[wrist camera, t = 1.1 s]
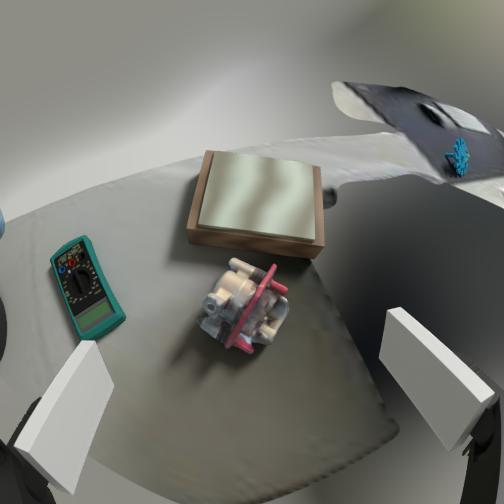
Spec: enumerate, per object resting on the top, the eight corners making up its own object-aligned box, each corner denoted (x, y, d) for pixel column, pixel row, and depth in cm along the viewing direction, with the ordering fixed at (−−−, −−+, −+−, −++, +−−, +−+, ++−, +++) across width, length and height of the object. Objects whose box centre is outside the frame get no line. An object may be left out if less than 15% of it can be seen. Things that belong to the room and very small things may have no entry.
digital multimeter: (90, 237, 38) (83, 229, 35) (129, 320, 34) (122, 316, 31) (55, 261, 35) (46, 254, 33) (89, 346, 31) (79, 343, 29)
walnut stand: (189, 243, 39) (185, 225, 34) (206, 168, 44) (206, 147, 40) (314, 259, 40) (325, 244, 35) (312, 183, 45) (321, 164, 41)
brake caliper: (276, 377, 30) (223, 339, 22) (213, 346, 37) (156, 304, 29) (317, 297, 35) (283, 236, 27) (252, 281, 42) (209, 228, 34)
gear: (457, 176, 51) (457, 136, 48) (438, 172, 56) (438, 134, 53) (470, 175, 55) (470, 140, 52) (454, 172, 60) (453, 138, 57)
